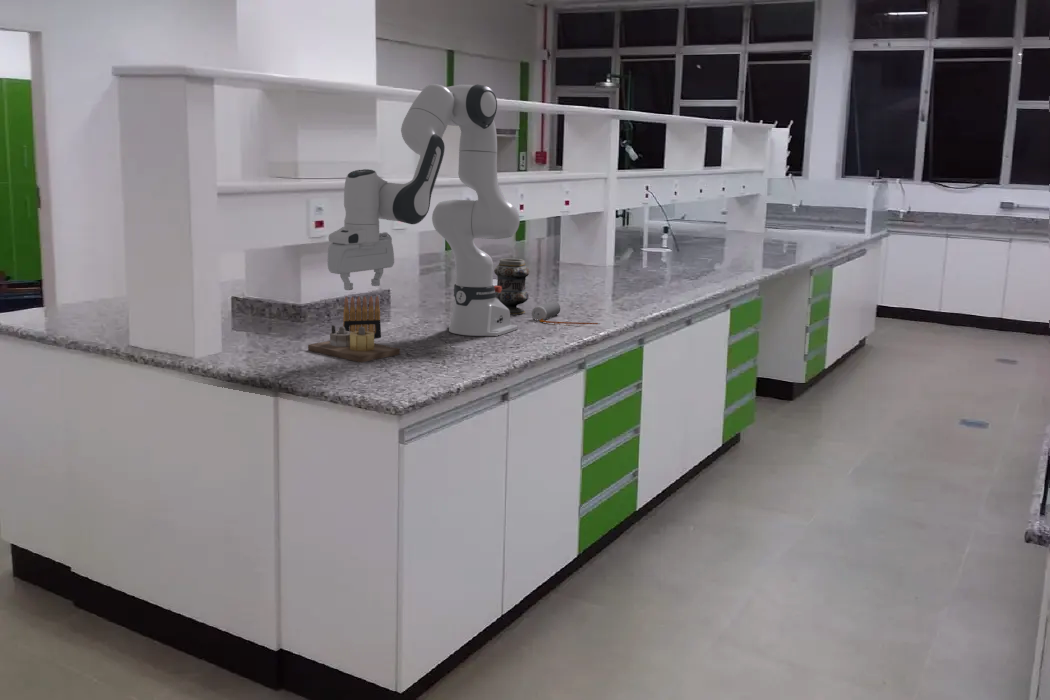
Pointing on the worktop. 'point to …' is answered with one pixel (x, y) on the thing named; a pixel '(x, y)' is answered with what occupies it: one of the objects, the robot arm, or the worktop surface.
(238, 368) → the worktop surface
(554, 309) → the motor
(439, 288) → the worktop surface
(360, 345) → the octagonal hollow tube
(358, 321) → the ammunition clip
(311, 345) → the gear board
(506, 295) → the apothecary jar
